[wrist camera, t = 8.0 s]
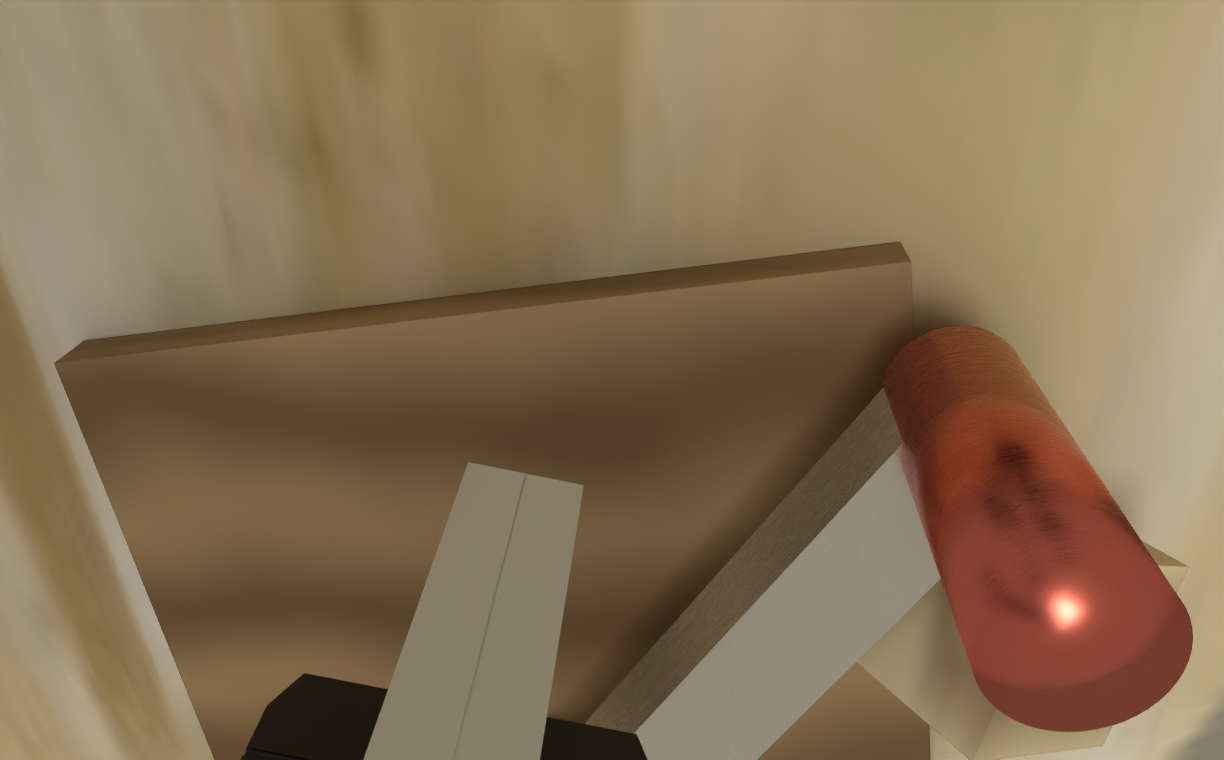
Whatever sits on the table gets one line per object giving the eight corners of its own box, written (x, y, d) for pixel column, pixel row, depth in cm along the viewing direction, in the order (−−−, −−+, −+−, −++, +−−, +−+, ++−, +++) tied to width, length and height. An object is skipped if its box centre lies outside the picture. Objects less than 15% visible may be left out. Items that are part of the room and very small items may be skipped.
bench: (83, 340, 29) (-107, 484, 22) (900, 242, 27) (971, 371, 20) (269, 818, 37) (169, 1037, 30) (923, 781, 34) (981, 1015, 27)
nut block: (896, 460, 26) (1062, 561, 22) (1021, 474, 29) (1188, 567, 25) (826, 636, 28) (971, 762, 24) (953, 633, 30) (1102, 746, 26)
